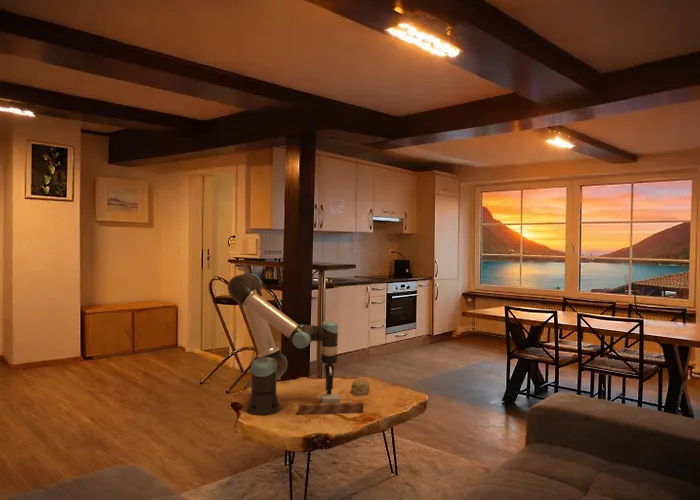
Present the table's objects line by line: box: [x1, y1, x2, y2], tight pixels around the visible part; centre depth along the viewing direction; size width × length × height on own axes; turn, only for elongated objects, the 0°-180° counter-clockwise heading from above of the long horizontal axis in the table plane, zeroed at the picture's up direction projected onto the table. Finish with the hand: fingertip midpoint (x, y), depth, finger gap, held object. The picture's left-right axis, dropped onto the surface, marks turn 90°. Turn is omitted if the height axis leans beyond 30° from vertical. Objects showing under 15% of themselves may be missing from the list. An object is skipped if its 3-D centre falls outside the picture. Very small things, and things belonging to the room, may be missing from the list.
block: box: [320, 393, 341, 403], centre depth 253 cm, size 8×7×6 cm
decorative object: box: [350, 377, 370, 397], centre depth 278 cm, size 9×10×10 cm
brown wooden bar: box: [297, 401, 364, 416], centre depth 249 cm, size 30×3×4 cm, turn 100°
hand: (328, 401), depth 259 cm, fingers closed
